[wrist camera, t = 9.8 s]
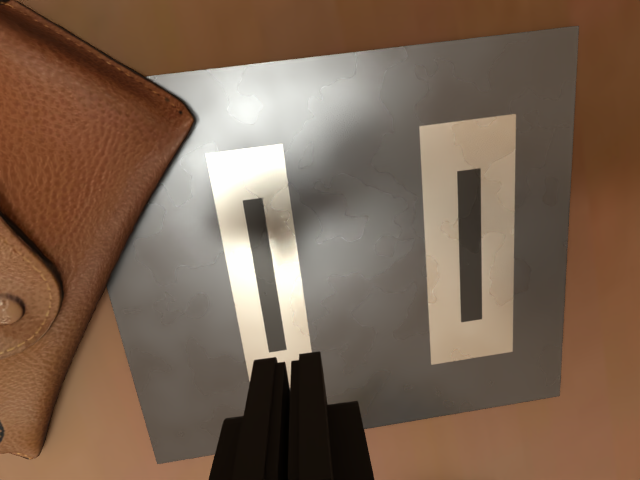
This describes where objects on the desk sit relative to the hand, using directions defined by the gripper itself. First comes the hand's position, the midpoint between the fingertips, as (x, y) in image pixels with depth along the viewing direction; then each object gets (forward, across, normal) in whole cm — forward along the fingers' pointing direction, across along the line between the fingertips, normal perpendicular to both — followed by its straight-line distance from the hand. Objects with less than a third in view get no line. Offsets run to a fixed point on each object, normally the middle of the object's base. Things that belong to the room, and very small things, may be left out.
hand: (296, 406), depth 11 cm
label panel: (+8, -2, 0) cm, 9 cm away
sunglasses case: (+8, +11, -3) cm, 14 cm away
